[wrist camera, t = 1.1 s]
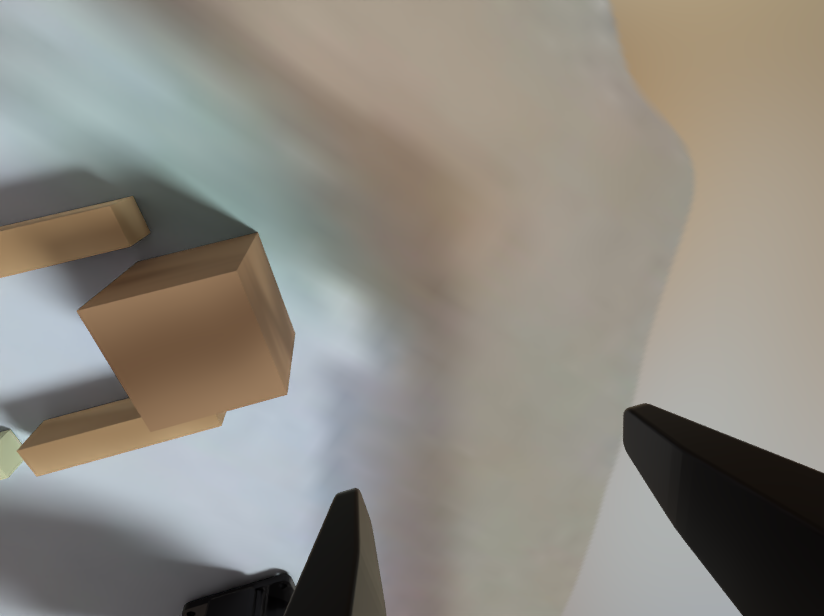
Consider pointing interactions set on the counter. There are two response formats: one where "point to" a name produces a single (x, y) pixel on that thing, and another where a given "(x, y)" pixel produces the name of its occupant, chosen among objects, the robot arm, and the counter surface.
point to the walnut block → (195, 332)
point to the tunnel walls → (105, 424)
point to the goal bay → (9, 454)
